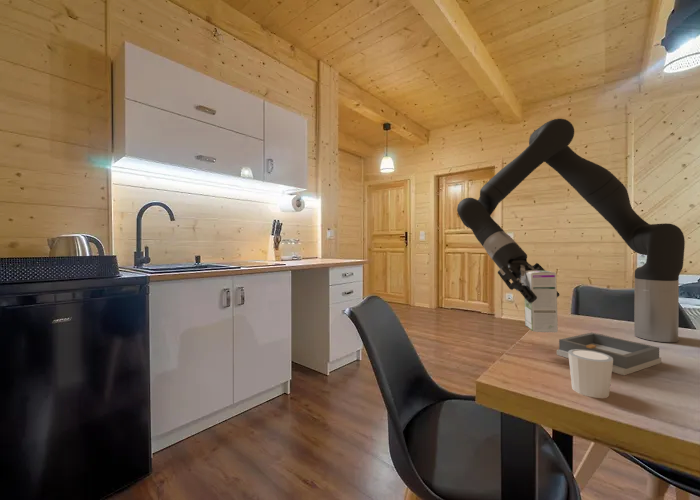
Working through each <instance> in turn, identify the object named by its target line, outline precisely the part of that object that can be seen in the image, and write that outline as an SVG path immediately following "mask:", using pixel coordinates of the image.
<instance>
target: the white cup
mask: <svg viewBox="0 0 700 500" xmlns="http://www.w3.org/2000/svg"><path fill="white" fill-rule="evenodd" d="M568 355H569V358H568V362H569V363H568V364H569V373H570V382H571V389H572V390H573V391H574V392H576V393H578V394H579V395H582V396H585V397H588V398H593V399H606V398H608V397H609V396H610V392H611V391H610V390H611V389H610V388H611V382H612V373H613V372H612V366H613V358H612V357H611V356H609V355H607V354H604V353H600V352H596V351H591V350H583V349H573V350H569V351H568Z"/></svg>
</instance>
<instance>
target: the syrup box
mask: <svg viewBox="0 0 700 500" xmlns="http://www.w3.org/2000/svg"><path fill="white" fill-rule="evenodd" d="M525 274H526V279H525V282H526V285H525V286H528V287H529V288H530V289H531V291H532V292H533V293H534V294H535V295H536V296H537V299H536V300H535V301H534V302H532V303H529V302H528V301H527V300H526V299H525V298H524V325H525V327H527V328H528V329H529V330H530V331H531V332H533V333H534V332H535V333H558V332H559V330H558V329H559V327H558V325H559V324H558V321H559V320H558V319H559V317H558V316H559V315H558V297H557V292H558V291H557V290H558V289H557V285H558V284H557V272H556V271H550V270H545V269H544V270H529V271H525Z"/></svg>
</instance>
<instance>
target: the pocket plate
mask: <svg viewBox="0 0 700 500" xmlns="http://www.w3.org/2000/svg"><path fill="white" fill-rule="evenodd" d="M558 342H559V343H558V345H559V346H558V347H559V348H558V349H556V355H557V356H560V357H563V358H567V359H569V355H568V351H569V350H573V349H583V350H591V351H596V352H600V353H604V354H607V355H609V356H611V357H612V358H613V366H612V373H615V374H618V375H621V376H626V375H630V374H632V373H635V372H638V371H641V370H644V369H647V368H650V367H652V366H657V365H659V364H662V357H660V347H658V346H653V345H649V344H645V343H640V342H636V341H631V340H627V339H623V338H618V337H614V336H609V335H604V334H600V333H596V332H587V333H584V334H579V335H573V336H569V337H565V338H560V339H558Z"/></svg>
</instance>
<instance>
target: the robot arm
mask: <svg viewBox="0 0 700 500" xmlns="http://www.w3.org/2000/svg"><path fill="white" fill-rule="evenodd" d="M574 136H575V128H574V125H573V124H572V122H570V121H569V120H567V119H566V118H554V119H551V120H549V121H546V122H545V123H544V124H542V125H541V126H539V127H538V128H537V129H535V130H533V132H532V133H531V134H530V136H529V138H528V146H527V147H526V148H525V149H524V150H523V151H522V152H521V153H520V154H519V155H518V156H516V157H515V158H514V159H513V160H511V161H510V162H509V163H508V164H506V165H505V166H504V167H503V168H501V169H500V170H499V171H498V172H497V173H496V174H495V175H494V176H492V178H490V179H489V180H488V181H487V182H486V183H485V184H484V185H483V186H482V187H481V188H480V191H479V198H478V199H477V198H474V197H466V198H463V199H461V200H460V201H459V202H458V204H457V207H456V212H457V215H458V217H459V219H460V220H461V222H462V223H463V225H464V226H465V227H466V228H468V229H470V230H471V231H472V233H473V235H474V237H475V238H476V240H477V241H478V242H479V244H481V246H482V247H483V249H484V250H485V253H487V255H488V256H489V257H490V259H491V260H492V261H493V263H494V264H495V265H496V266H497V268H499V269H498V271H497V274H498V276H500V278H501V280H502V281H503V282H504V283H505V285H506V286H507V288H508V289H509V290H511V291H513V290H516V291H517V292H520V294H521V295H522V297H523V299H524V300H525V299H526V300H527V301H528V302H529V303H532V302H534V301H535V300H536V299H537V296H536V295H535V294H534V293H533V292H532V291H531V289H530V288H529V287H528V286H525V285H526V282H525V279H526V274H525V271H529V270H545V268H543V266H541V264H539V263H537V262H536V263H535V264H533V265H532V264H530V263H529V262H528V261H527V260H528V255H527V253H526V252H525V250H524V249H522V247H521V246H520V245H519V244H518V243H517V242H516V241H515V239H513V238H512V236H511V235H510V234H508V233H507V232H506V231H505V230H504V228H502V227H501V226H500V224H498V223H497V222H496V221H495V220H494V218H492V216H491V215H492V214H493V213H494V211H495V210H496V208H497V207H498V205H499V204H500V203H501V202H503V200H505V198H507V197H508V196H509V195H510V194H511V193H512V192H513V191H514V190H515V189H516V188H517V187H518V186H519V185H520V184H521V183H522V182H523V181H524V180H525V179H527V177H528V176H529V175H531V173H533V172H534V171H536V169H537V168H538V167H540V166H541V165H542V164H544V163H545V164H547V165H548V166H549V167H550V168H552V169H553V170H554V171H556V172H557V174H559V175H560V176H561V177H562V178H563V179H564V180H565V181H566V182H567V183H568V184H569V185H570V186H571V188H573V189H574V190H575V191H576V192H577V193H578V194H579V195H580V196H581V197H582V198H583V200H584V201H586V202H587V203H588V205H590V206H591V207H593V209H594V210H595V211H596V212H597V213H598V214H600V215H601V217H602V218H603V219H604V220H605V221H606V222H607V223H609V224H610V226H612V227H613V229H614V230H615V231H616V233H617V234H618V235H619V237H621V239H622V240H623V241H624V242H625V244H626V245H627V246H628V247H629V249H631V250H632V251H633V252H635V253H636V254H639V255H642V256H646V260H645V263H644V264H643V265H642V266H640V267H637V268H636V269H634V303H633V305H634V312H633V313H634V314H633V315H634V317H633V318H634V320H633V322H634V327H633V328H634V333H633V334H634V337H637V338H640V339H644V340H648V341H652V342H653V341H654V342H658V343H659V342H660V343H661V342H662V343H677V342H679V312H680V311H679V308H680V307H679V306H680V305H679V304H680V303H679V300H680V299H679V295H680V293H679V291H680V290H679V285H680V284H679V282H680V281H679V280H680V274H681V273H682V271H683V267H684V257H685V247H686V246H685V245H686V243H685V241H686V240H685V235H684V233H683V231H682V229H681V228H680V227H679V226H677V224H676V225H675V224H673V223H652V224H650V223H648V222H647V221H645V219H643V218H642V217H641V216H640V215H639V214H637V212H636V211H635V210H634V209H633V207H632V204H631V201H630V196H629V192H628V190H627V188H626V186H625V185H624V184H623V183H622V181H620V179H618V178H617V176H615V175H614V174H613V173H612V172H611V171H610V170H608V169H607V168H606V167H603V166H602V165H599V164H597V163H595V162H593V161H590V160H589V159H586V158H584V157H583V156H580V155H578V154H577V153H576V152H575V151H574V150H573V149H572V148H570V146H569V145H570V143H571V142H572V141H573V139H574ZM511 281H512V283H511ZM559 296H560V293H559V291H557V298H559Z"/></svg>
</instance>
